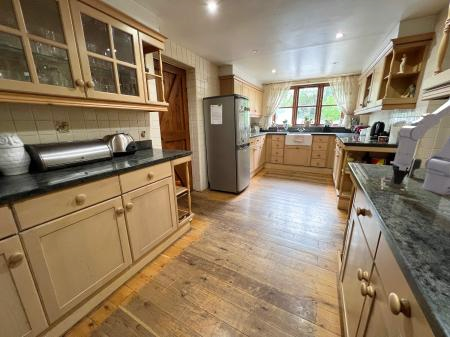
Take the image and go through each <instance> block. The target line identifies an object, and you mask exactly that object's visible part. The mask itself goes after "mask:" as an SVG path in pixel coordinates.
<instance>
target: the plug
mask: <svg viewBox="0 0 450 337" xmlns="http://www.w3.org/2000/svg"><path fill="white" fill-rule="evenodd" d="M390 178H391V179H390V182H389V186H388V187H390V188H395V189H401V186H402V183H403V181H402V182H401V184H400V185H399V184H394V175H393V174H391V177H390ZM403 180H405V178H404V179H403Z"/></svg>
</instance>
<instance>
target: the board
mask: <svg viewBox="0 0 450 337" xmlns="http://www.w3.org/2000/svg"><path fill="white" fill-rule="evenodd" d="M390 179H391V177H388V176H383V177H382V178H381V179H380V180H381V183H380V184H381V186H380V187H381V190H384V191H389V192H394V193H399V194H404V195H409V196H410V191H409V189H408V186H407V183H406V181H405V179H404V180H403V183H402V186H401V189H395V188H390V187H388V186H389V182H390Z"/></svg>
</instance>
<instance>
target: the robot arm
mask: <svg viewBox="0 0 450 337" xmlns="http://www.w3.org/2000/svg"><path fill="white" fill-rule="evenodd" d="M447 115H450V97H449V98H448V100H447V102H445V103H444V104H443V105H441V106H440V107H438V109H436V110H435V111H434V112H432V113H430V112H428V113H423V114H422V115H421V116H420V117H419V118H418V119H417V120H415V121H413V122H411V123H410V124H408V125H404V126H402V127H401V128H400V129H399V131H397V136H398V142H399V143H398V145H397V149H396V153H395V155H394V156H395V157H394V160H393V161H390V164H392V166H391V167H392V170H393V173H392V175H394V184H399V185H400V184H401V182H402V181H403V179H404V180H405V177H407V175H408V173H409V172H410V171H409V168H410V166H411V165H412V164H411V163H412V159H413V158H414V156H415V152H416V149H417V146H418V143H419V140H420V139H423V138H424V137H425V134H426V133H427V132H428V131H429V130H430V129H433V128H434V127H435V126H437V125H438V124H440V122H441V119H442V118H444V117H445V116H447ZM424 168H425V169H426V170H425V171H426V176H425V179H424V181H423V183H422V187H421V188H422V189H424V190H426V191H430V192H433V193H436V194H438V195H450V135H449V137H448V138H447V139H446V141H445V143H444V144H443V146H442V148H441V149H440V150H439V151H437V152H434V153H431V155H430V157H428V158H427V159H426V160H425V162H424Z"/></svg>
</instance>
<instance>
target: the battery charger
mask: <svg viewBox="0 0 450 337" xmlns="http://www.w3.org/2000/svg"><path fill="white" fill-rule="evenodd" d="M422 163H423V160H422V159H421V158H417V157H413V159H412V163H411V164H412V165H411V166H410V167H409V168H408V170H409V171H410V172H409V173H408V174H407V175H406V177H407V178H411V179H416V176H415V174H414V173H415V170H420V168H421V167H422Z"/></svg>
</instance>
